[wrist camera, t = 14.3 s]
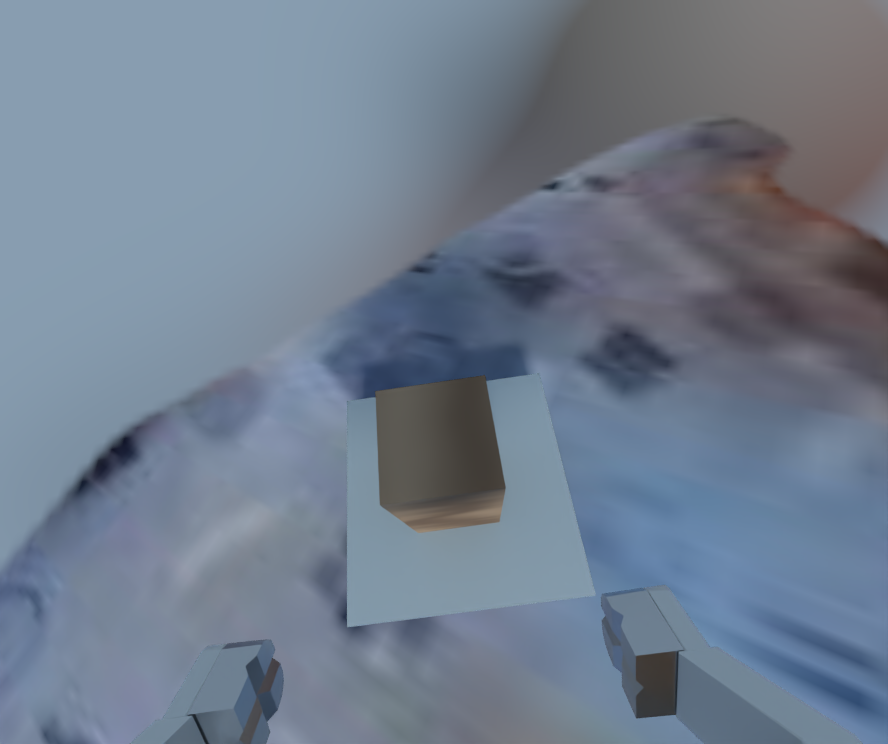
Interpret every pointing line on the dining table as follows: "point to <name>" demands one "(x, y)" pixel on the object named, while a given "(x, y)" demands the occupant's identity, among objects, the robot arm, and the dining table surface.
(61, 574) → the dining table surface
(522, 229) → the dining table surface
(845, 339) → the dining table surface
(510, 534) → the slate base
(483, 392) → the walnut block
